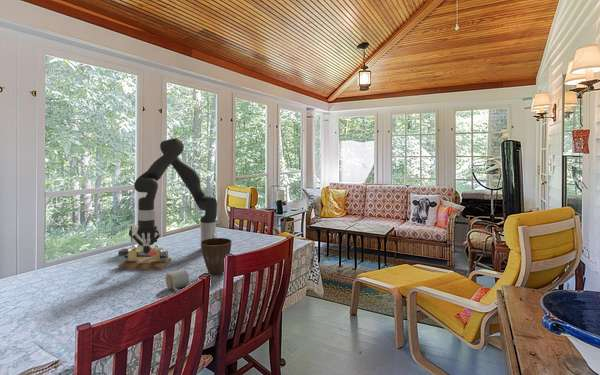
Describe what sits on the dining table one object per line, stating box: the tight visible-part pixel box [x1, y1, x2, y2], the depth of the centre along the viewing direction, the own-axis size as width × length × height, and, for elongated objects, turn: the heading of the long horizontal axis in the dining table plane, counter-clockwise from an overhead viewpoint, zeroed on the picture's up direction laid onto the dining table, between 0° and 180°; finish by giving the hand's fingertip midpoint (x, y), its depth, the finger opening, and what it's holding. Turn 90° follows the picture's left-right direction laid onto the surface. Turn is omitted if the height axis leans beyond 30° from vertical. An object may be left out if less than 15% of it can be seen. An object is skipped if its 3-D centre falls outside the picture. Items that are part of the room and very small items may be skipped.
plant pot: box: [200, 237, 232, 276], centre depth 169 cm, size 15×15×16 cm
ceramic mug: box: [165, 268, 190, 293], centre depth 148 cm, size 11×8×8 cm
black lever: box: [117, 244, 138, 257], centre depth 173 cm, size 2×15×2 cm, turn 1°
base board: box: [118, 257, 173, 270], centre depth 180 cm, size 22×14×2 cm, turn 92°
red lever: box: [149, 245, 160, 256], centre depth 173 cm, size 2×15×2 cm, turn 13°
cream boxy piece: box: [128, 224, 160, 250], centre depth 204 cm, size 18×8×18 cm, turn 65°
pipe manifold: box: [122, 247, 169, 263], centre depth 180 cm, size 22×5×7 cm, turn 92°
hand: (146, 253), depth 168 cm, fingers closed
